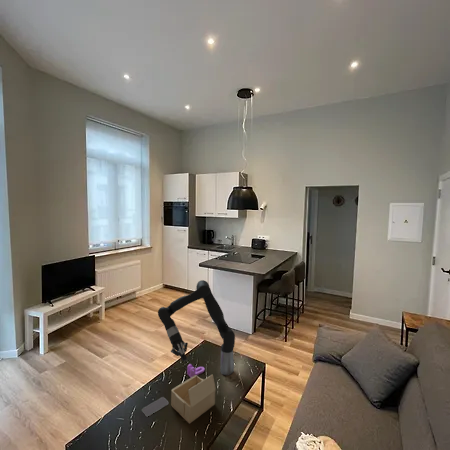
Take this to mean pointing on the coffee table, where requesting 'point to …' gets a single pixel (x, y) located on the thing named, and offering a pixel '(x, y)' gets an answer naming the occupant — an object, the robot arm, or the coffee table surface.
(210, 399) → the carton
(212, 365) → the coffee table surface
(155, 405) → the smartphone
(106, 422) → the coffee table surface
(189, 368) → the bracket
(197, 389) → the flap
